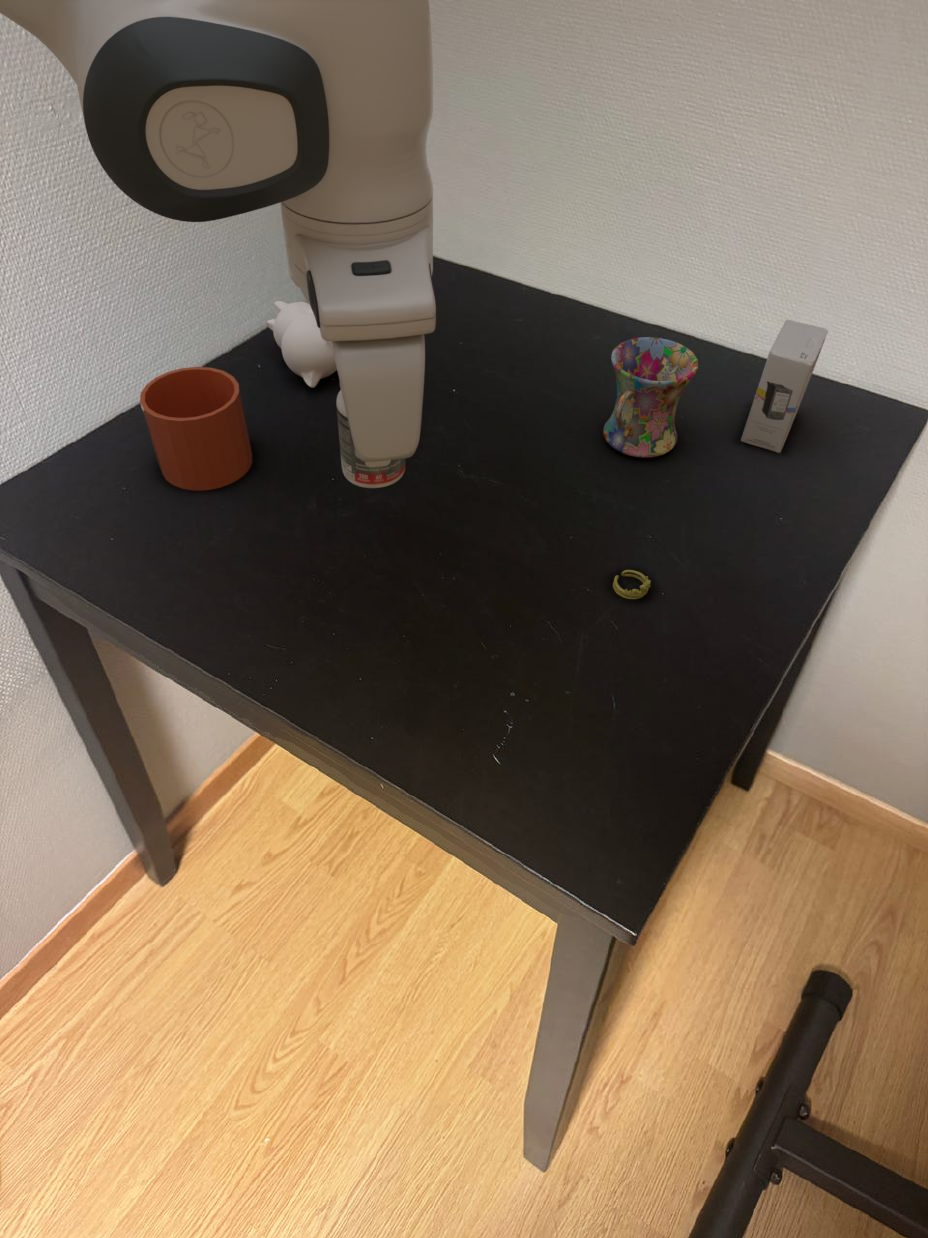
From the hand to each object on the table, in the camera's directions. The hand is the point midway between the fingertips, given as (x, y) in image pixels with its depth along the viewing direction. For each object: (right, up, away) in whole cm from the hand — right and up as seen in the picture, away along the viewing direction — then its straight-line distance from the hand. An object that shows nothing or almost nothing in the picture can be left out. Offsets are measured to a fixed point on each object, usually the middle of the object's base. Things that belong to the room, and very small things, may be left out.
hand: (371, 435), depth 62 cm
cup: (-22, +4, +34) cm, 41 cm away
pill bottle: (0, -2, +2) cm, 3 cm away
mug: (+26, +7, +38) cm, 47 cm away
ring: (+23, -10, +22) cm, 34 cm away
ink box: (+43, +9, +41) cm, 60 cm away
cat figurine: (-12, +19, +48) cm, 53 cm away
